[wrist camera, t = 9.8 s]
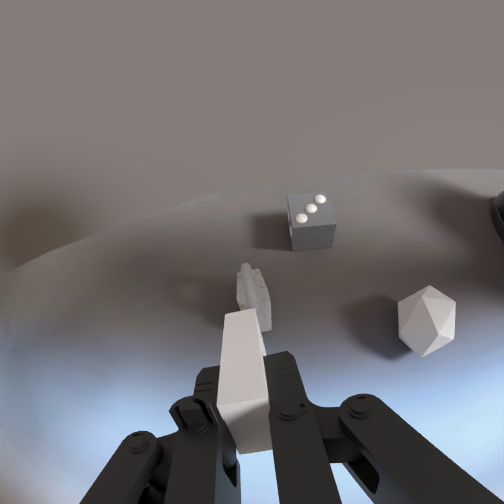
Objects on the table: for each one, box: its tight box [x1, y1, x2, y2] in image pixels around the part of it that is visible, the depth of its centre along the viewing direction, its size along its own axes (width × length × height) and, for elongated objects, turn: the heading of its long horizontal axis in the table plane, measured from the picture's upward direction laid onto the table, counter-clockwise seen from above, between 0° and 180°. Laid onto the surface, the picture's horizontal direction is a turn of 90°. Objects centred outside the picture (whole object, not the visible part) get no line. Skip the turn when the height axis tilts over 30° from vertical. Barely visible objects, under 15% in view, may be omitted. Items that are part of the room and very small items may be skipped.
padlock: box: [236, 263, 272, 332], centre depth 34 cm, size 7×4×10 cm, turn 9°
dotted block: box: [287, 192, 336, 251], centre depth 41 cm, size 6×6×6 cm
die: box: [398, 285, 456, 358], centre depth 30 cm, size 8×9×10 cm
